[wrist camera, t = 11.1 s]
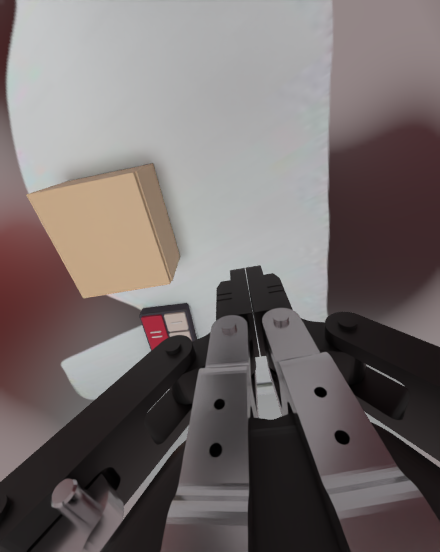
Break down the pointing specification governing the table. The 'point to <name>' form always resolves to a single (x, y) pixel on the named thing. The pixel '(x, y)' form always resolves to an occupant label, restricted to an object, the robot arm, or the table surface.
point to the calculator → (167, 323)
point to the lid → (103, 234)
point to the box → (154, 207)
